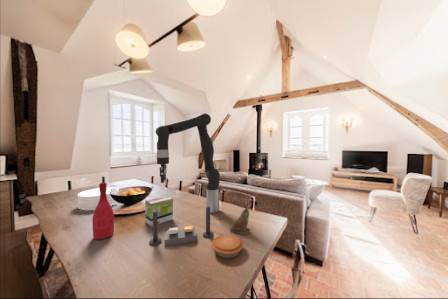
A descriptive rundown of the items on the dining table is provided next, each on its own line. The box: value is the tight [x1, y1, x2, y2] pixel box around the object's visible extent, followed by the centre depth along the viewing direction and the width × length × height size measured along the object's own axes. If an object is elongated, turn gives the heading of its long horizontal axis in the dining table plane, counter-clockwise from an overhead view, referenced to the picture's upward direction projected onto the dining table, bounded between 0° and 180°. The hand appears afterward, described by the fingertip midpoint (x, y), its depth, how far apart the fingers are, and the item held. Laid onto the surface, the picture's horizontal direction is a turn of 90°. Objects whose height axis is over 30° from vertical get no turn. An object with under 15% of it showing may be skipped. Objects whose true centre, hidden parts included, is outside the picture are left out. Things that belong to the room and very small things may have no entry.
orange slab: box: [183, 225, 194, 232], centre depth 92 cm, size 4×6×1 cm
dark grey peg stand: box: [202, 205, 214, 239], centre depth 94 cm, size 6×6×16 cm
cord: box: [148, 211, 162, 247], centre depth 87 cm, size 6×6×16 cm
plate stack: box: [77, 186, 120, 211], centre depth 143 cm, size 28×28×12 cm
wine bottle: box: [91, 182, 115, 240], centre depth 93 cm, size 10×10×30 cm
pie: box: [211, 234, 244, 259], centre depth 81 cm, size 16×16×5 cm
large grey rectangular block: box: [164, 227, 197, 246], centre depth 91 cm, size 16×9×4 cm, turn 105°
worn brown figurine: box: [229, 204, 251, 236], centre depth 98 cm, size 12×6×18 cm, turn 68°
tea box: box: [144, 195, 174, 228], centre depth 112 cm, size 15×10×15 cm
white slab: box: [168, 227, 179, 234], centre depth 90 cm, size 4×6×1 cm
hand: (163, 181), depth 109 cm, fingers open, 8 cm apart
